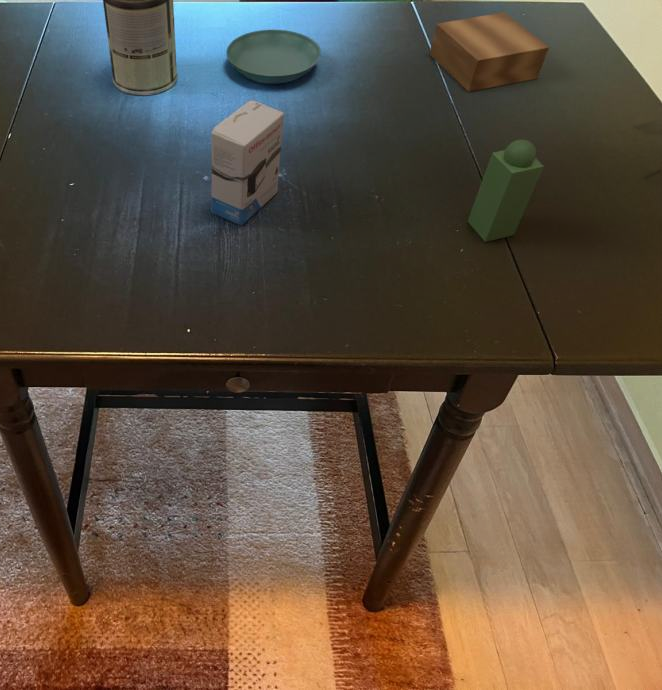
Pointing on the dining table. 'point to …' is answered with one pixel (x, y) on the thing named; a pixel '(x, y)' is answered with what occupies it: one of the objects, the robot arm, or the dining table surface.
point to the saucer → (273, 55)
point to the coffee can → (141, 45)
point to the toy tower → (505, 191)
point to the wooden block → (487, 51)
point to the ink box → (246, 161)
